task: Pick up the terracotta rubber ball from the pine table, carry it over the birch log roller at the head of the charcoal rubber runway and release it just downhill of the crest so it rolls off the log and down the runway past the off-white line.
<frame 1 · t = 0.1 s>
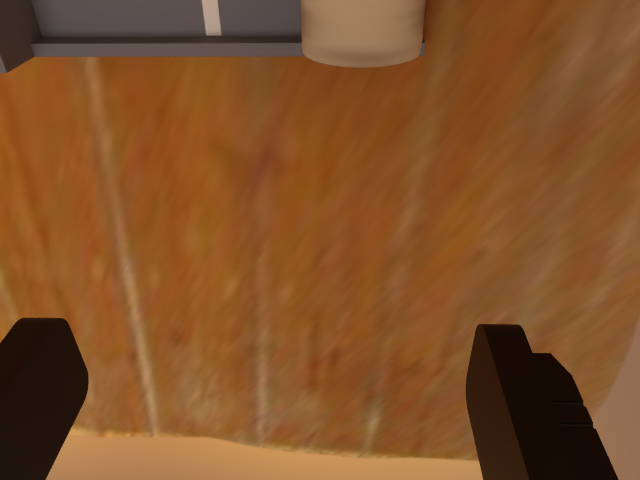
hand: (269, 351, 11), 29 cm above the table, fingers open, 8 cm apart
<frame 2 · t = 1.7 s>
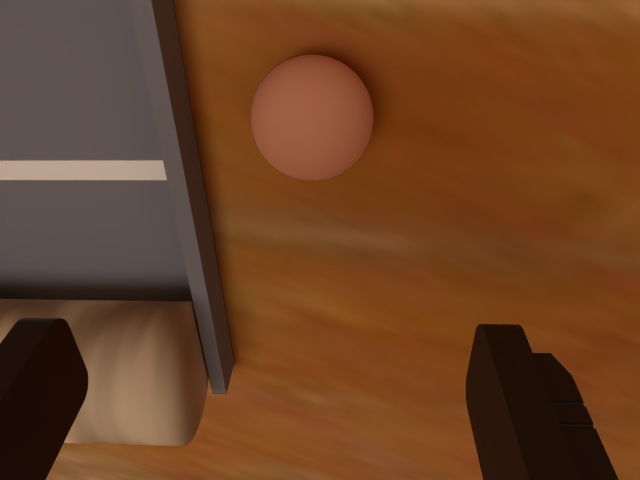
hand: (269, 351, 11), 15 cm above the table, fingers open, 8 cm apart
ball: (315, 98, 23), on the table
log roller: (114, 311, 30), resting on runway
runway: (68, 171, 25), on the table
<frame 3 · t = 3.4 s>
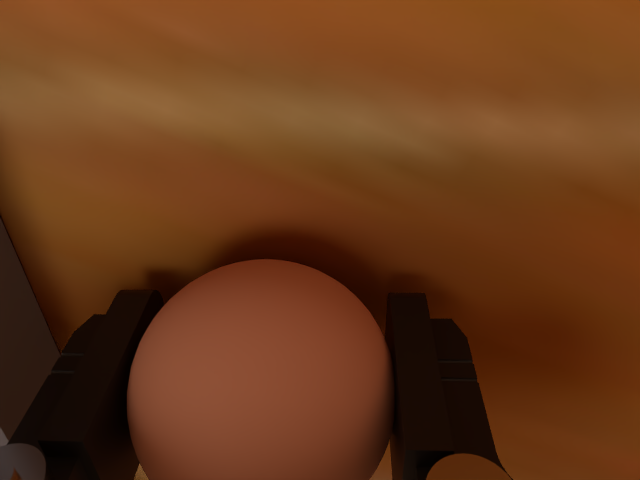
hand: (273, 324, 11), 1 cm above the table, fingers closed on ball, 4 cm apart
ball: (278, 302, 12), on the table, touching gripper
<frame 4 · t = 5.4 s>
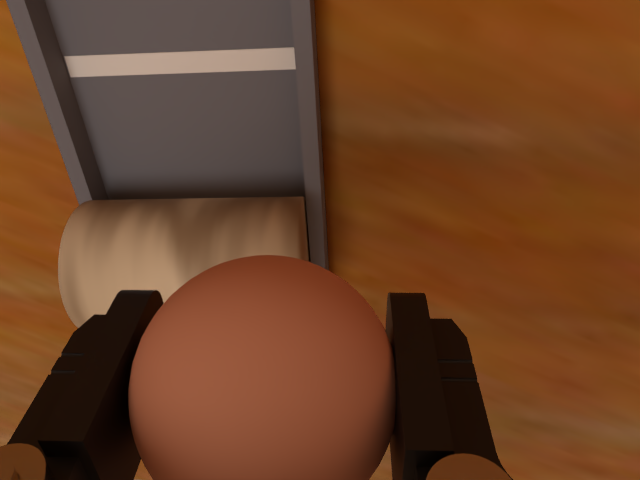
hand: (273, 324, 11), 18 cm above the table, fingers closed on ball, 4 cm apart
ball: (280, 299, 12), point 17 cm above the table, touching gripper
log roller: (216, 221, 31), resting on runway
runway: (186, 67, 26), on the table
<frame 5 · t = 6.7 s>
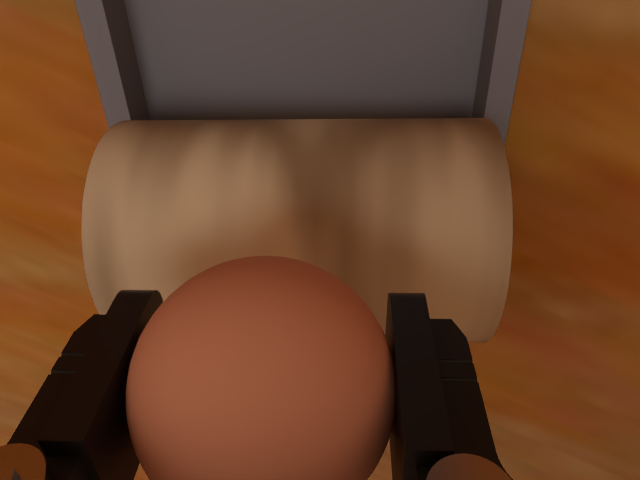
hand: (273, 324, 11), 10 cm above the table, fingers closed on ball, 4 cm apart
ball: (278, 299, 12), point 10 cm above the table, touching gripper
log roller: (312, 168, 21), resting on runway
when the fingers open (9 cm above the table, at t = 7.2 s): ball drops 5 cm and tips over, resting on runway.
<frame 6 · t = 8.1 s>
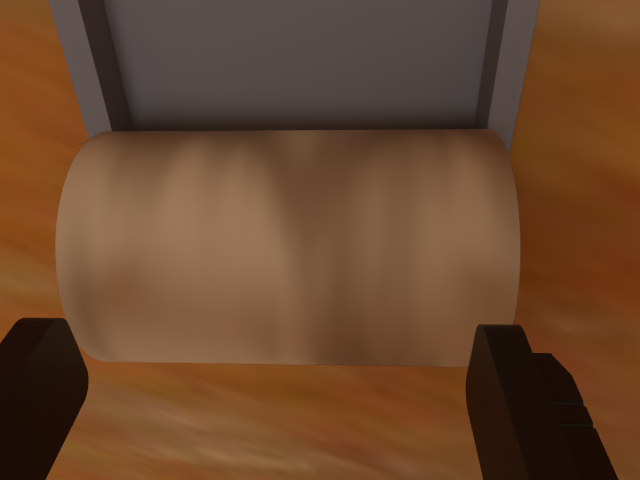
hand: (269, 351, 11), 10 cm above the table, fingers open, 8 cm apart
log roller: (305, 180, 20), resting on runway
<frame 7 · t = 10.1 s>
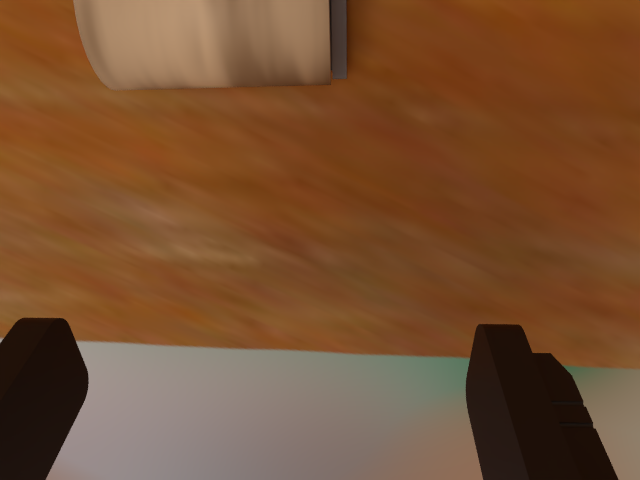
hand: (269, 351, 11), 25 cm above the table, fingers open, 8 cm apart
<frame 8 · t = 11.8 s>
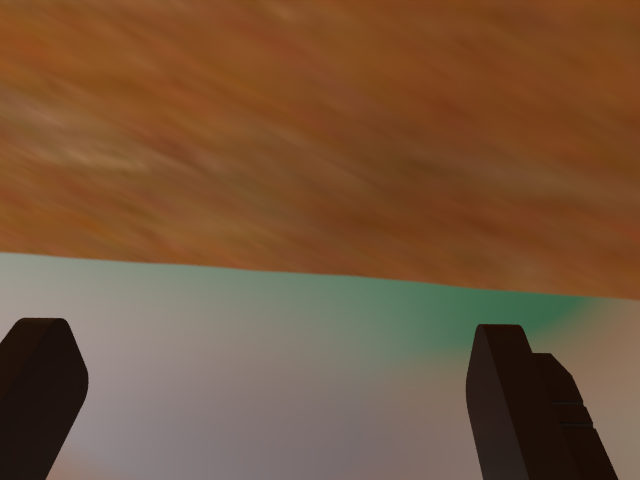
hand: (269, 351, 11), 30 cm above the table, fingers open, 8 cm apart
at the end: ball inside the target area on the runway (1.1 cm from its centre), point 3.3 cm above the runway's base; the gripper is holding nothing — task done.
